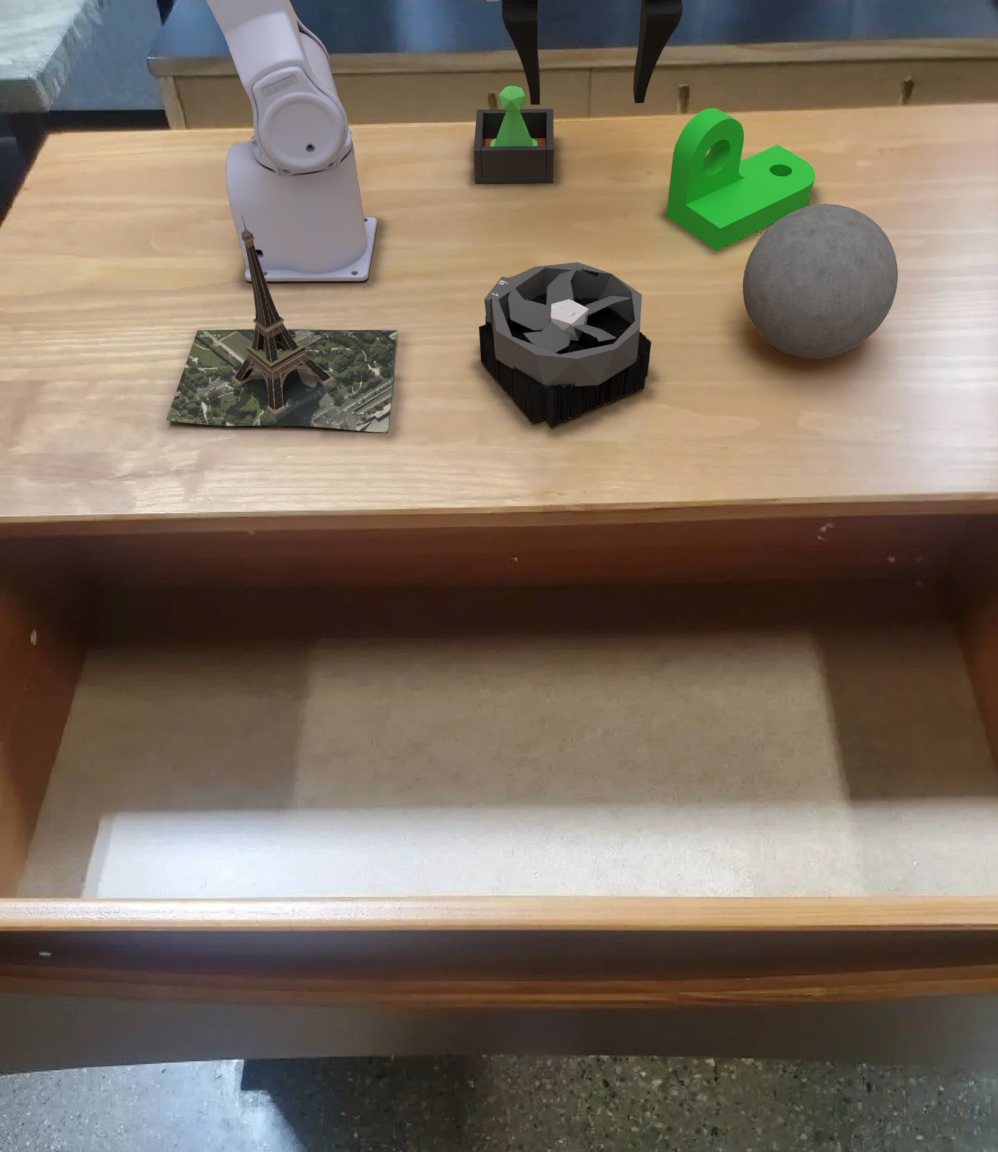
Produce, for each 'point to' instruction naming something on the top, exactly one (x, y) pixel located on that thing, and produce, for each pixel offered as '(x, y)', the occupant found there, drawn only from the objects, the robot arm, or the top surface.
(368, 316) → the top surface
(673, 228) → the top surface
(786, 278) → the decorative ball
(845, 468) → the top surface
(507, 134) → the game piece
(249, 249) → the eiffel tower figurine
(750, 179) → the mechanical part
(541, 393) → the cpu cooler
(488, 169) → the pad holder
